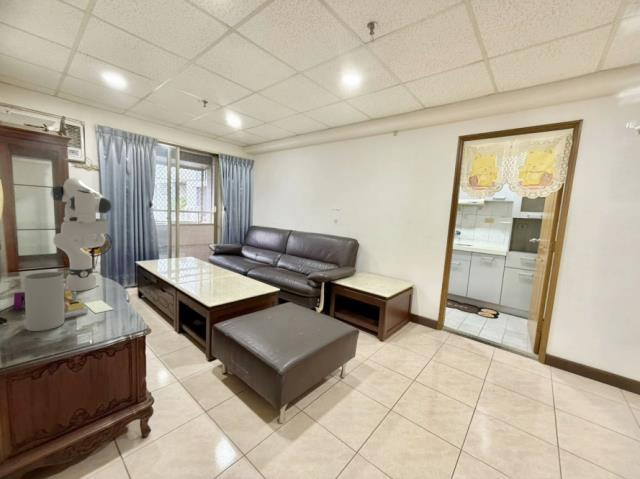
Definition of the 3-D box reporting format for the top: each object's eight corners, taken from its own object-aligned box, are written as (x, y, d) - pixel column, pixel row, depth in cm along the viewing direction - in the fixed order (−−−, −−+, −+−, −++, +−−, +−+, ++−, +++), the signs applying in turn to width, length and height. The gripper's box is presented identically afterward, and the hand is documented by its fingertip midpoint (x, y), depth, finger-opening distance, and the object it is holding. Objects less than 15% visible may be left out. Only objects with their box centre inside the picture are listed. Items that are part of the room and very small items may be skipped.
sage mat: (84, 304, 150) (84, 303, 150) (101, 300, 157) (101, 300, 157) (95, 313, 139) (95, 312, 139) (113, 309, 146) (113, 309, 146)
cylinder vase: (23, 326, 120) (21, 274, 118) (59, 318, 131) (58, 270, 128) (29, 334, 114) (28, 280, 111) (68, 325, 124) (67, 275, 122)
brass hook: (60, 303, 141) (59, 292, 141) (74, 300, 146) (74, 290, 146) (68, 311, 133) (67, 299, 132) (83, 308, 138) (83, 297, 137)
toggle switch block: (55, 308, 141) (55, 287, 140) (77, 304, 148) (77, 284, 147) (64, 318, 131) (64, 295, 130) (87, 313, 139) (87, 292, 137)
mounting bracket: (19, 313, 145) (13, 309, 133) (20, 298, 147) (14, 293, 134) (43, 309, 152) (40, 305, 139) (44, 295, 153) (40, 290, 141)
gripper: (106, 218, 156) (106, 240, 157) (59, 217, 139) (60, 242, 140) (110, 219, 153) (110, 242, 154) (62, 218, 135) (63, 243, 137)
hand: (86, 242), depth 147 cm, fingers open, 8 cm apart
